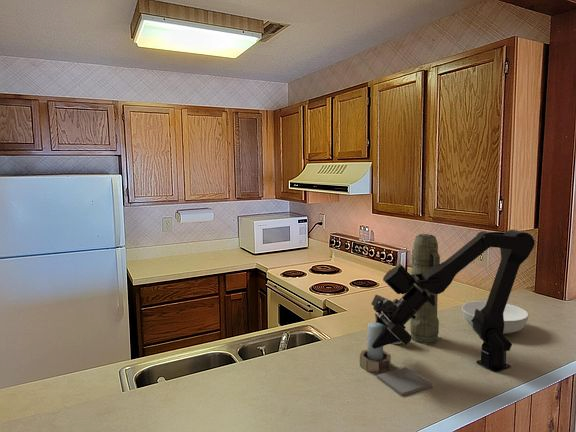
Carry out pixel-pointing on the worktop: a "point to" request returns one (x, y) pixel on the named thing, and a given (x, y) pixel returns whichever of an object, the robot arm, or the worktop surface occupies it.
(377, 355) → the slate peg
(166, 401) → the worktop surface
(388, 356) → the bronze collar
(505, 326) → the serving bowl
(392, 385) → the gray base plate
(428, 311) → the thermos
